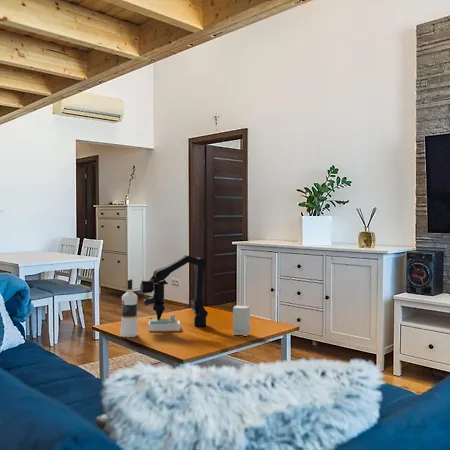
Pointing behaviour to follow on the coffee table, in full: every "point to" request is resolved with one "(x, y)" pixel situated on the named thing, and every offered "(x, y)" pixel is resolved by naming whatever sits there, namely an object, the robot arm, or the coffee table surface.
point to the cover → (164, 320)
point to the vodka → (129, 313)
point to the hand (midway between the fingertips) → (158, 319)
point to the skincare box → (241, 320)
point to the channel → (164, 326)
